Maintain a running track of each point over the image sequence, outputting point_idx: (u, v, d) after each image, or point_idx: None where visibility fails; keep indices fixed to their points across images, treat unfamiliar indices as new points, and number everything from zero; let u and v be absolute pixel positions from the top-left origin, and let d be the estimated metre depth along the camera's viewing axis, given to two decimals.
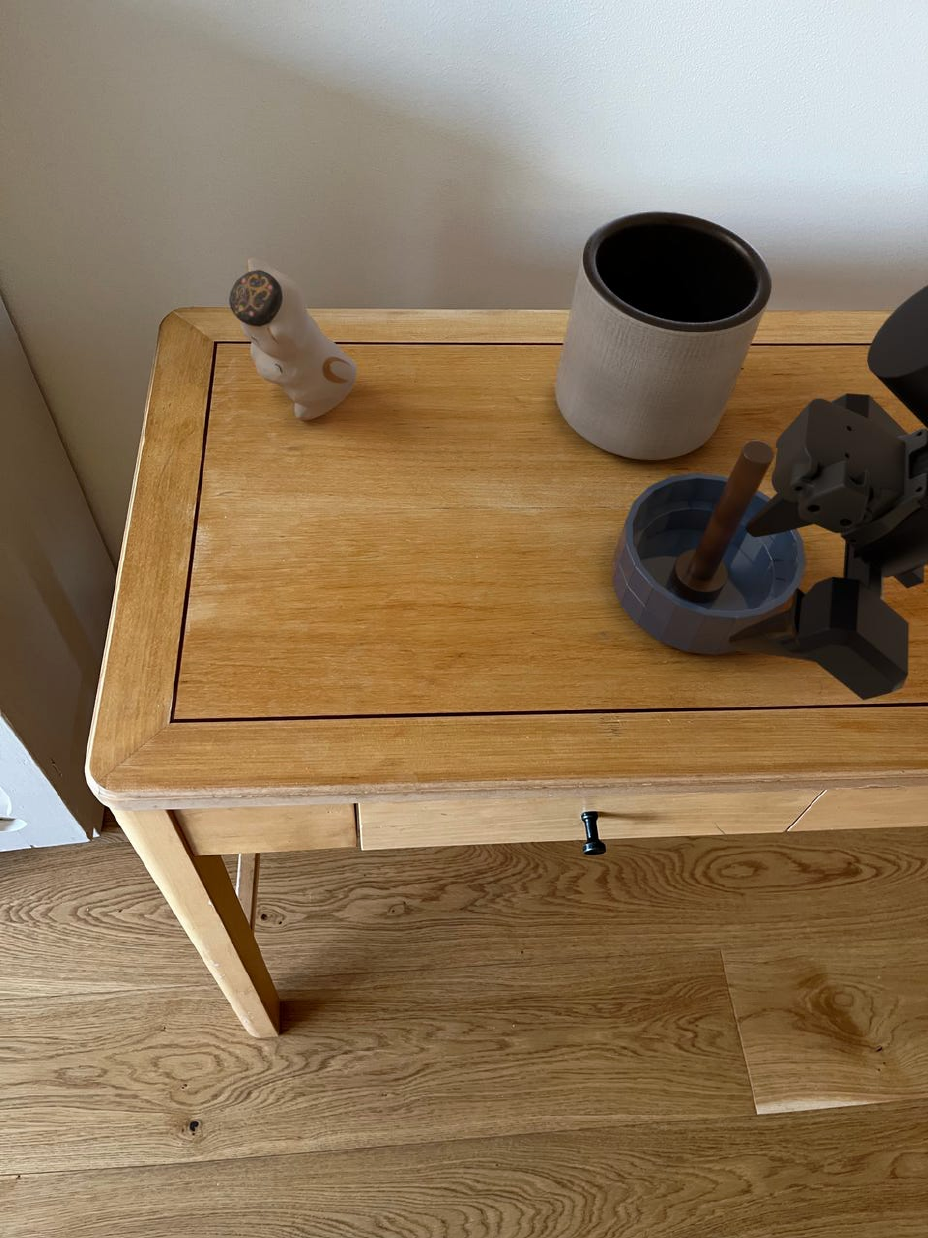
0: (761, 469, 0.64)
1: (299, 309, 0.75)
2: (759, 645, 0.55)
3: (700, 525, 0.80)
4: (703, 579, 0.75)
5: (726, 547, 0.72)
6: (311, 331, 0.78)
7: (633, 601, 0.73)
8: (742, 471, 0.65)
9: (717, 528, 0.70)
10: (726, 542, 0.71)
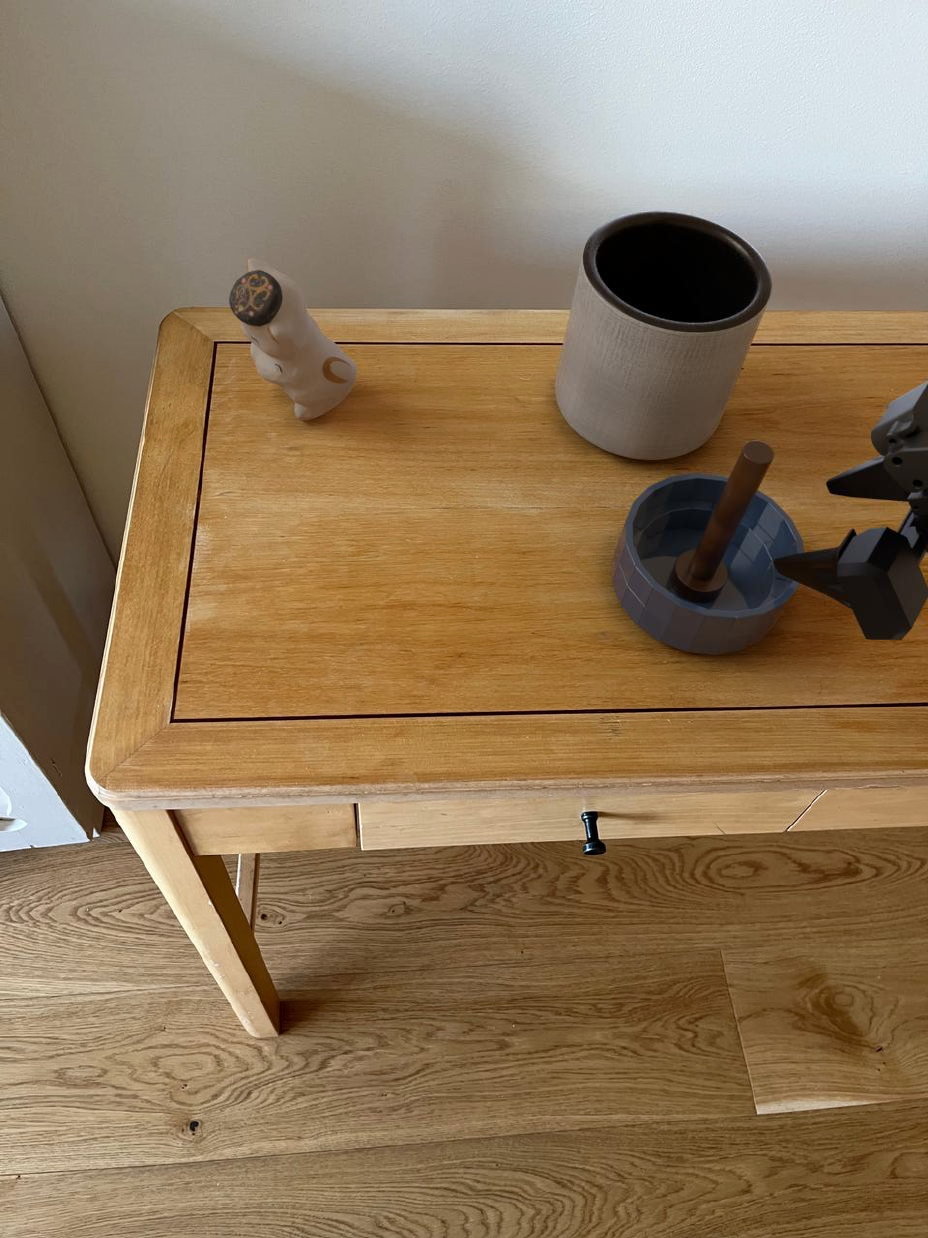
0: (761, 469, 0.64)
1: (299, 309, 0.75)
2: (798, 572, 0.62)
3: (700, 525, 0.80)
4: (703, 579, 0.75)
5: (726, 547, 0.72)
6: (311, 331, 0.78)
7: (633, 601, 0.73)
8: (742, 471, 0.65)
9: (717, 528, 0.70)
10: (726, 542, 0.71)
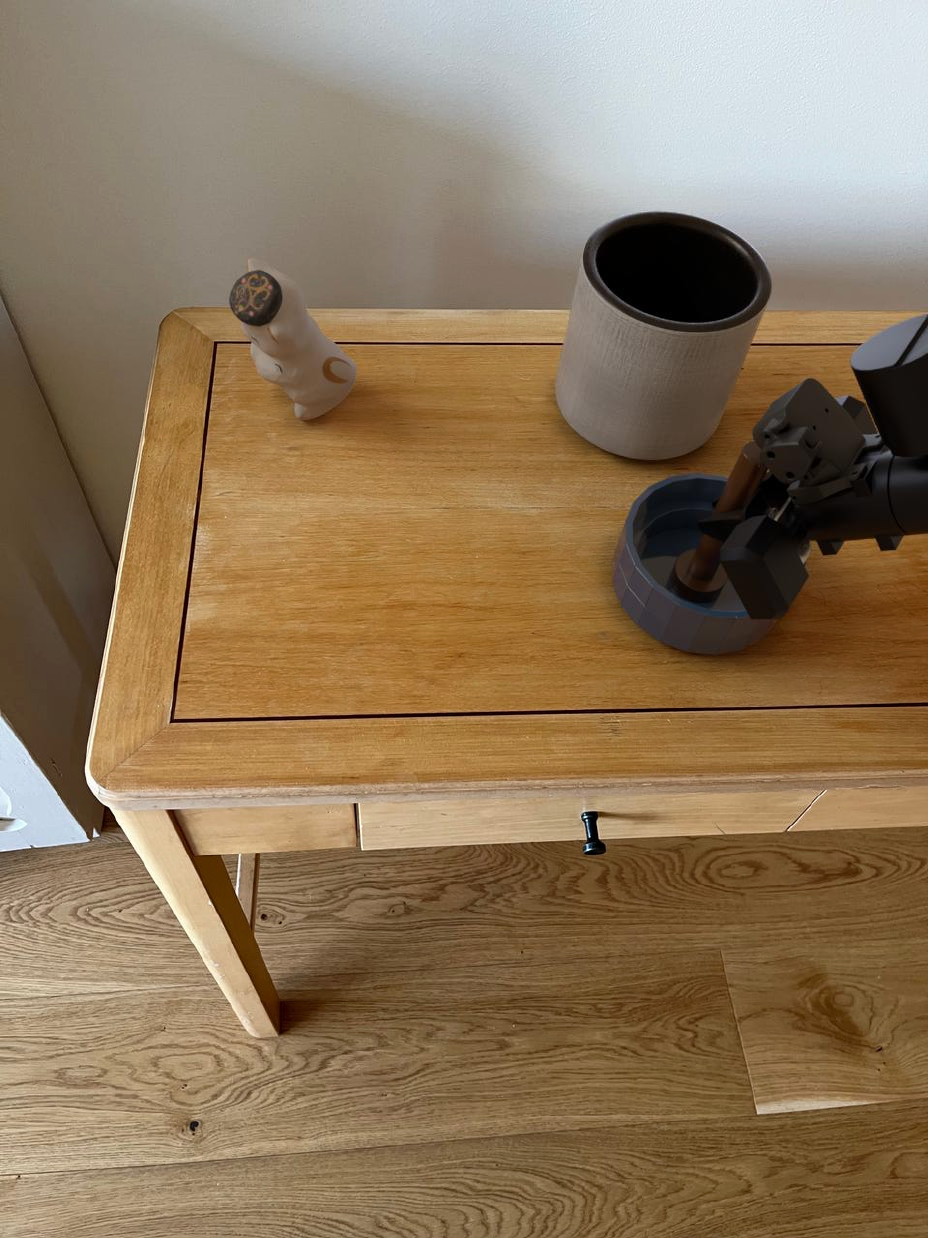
0: (761, 469, 0.64)
1: (299, 309, 0.75)
2: (717, 530, 0.69)
3: None
4: (703, 579, 0.75)
5: None
6: (311, 331, 0.78)
7: (633, 601, 0.73)
8: (742, 471, 0.65)
9: None
10: None
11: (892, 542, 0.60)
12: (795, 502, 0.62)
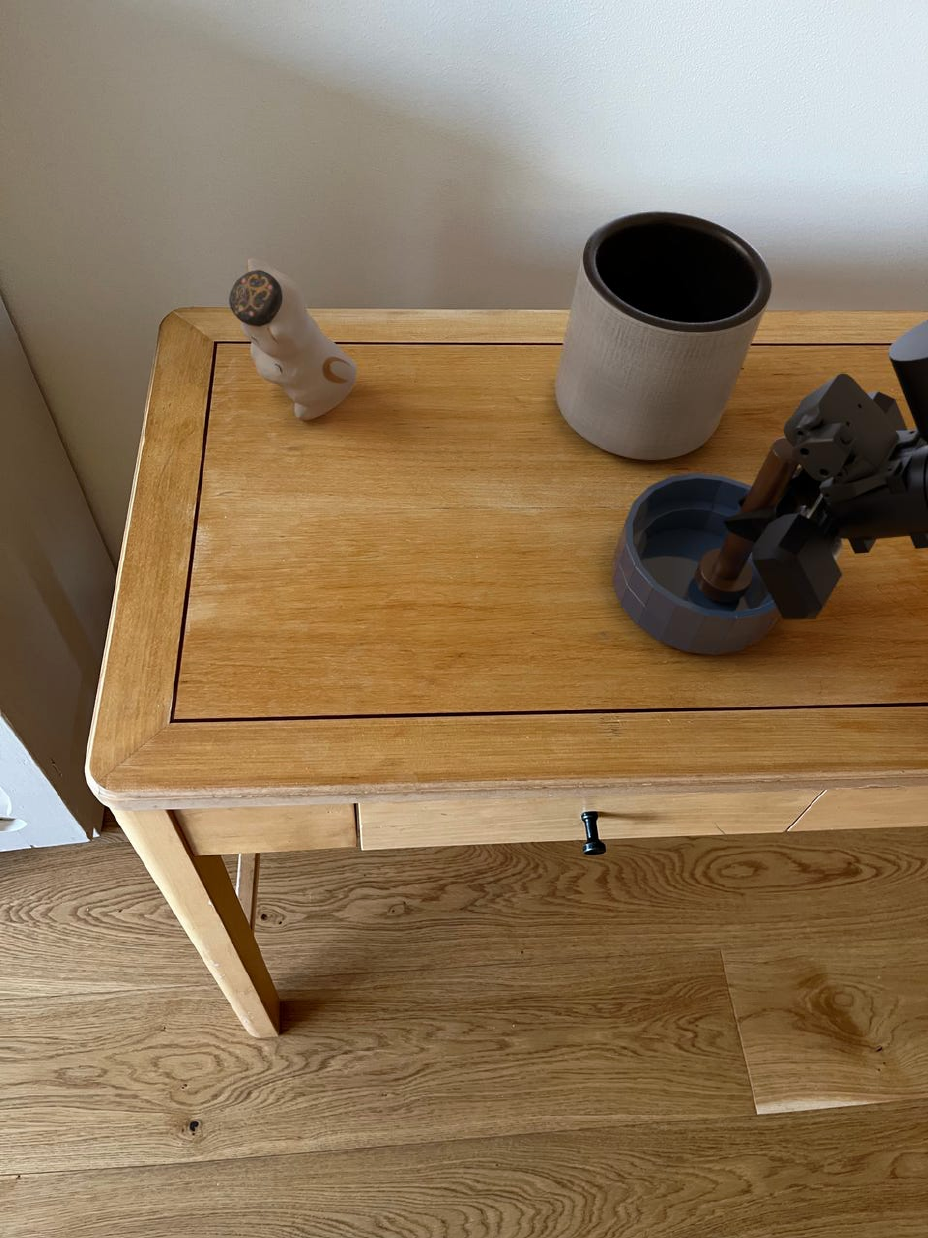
0: (791, 466, 0.63)
1: (299, 309, 0.75)
2: (745, 529, 0.68)
3: (700, 525, 0.80)
4: (728, 578, 0.74)
5: None
6: (311, 331, 0.78)
7: (633, 601, 0.73)
8: (771, 469, 0.64)
9: None
10: None
11: None
12: (827, 500, 0.61)
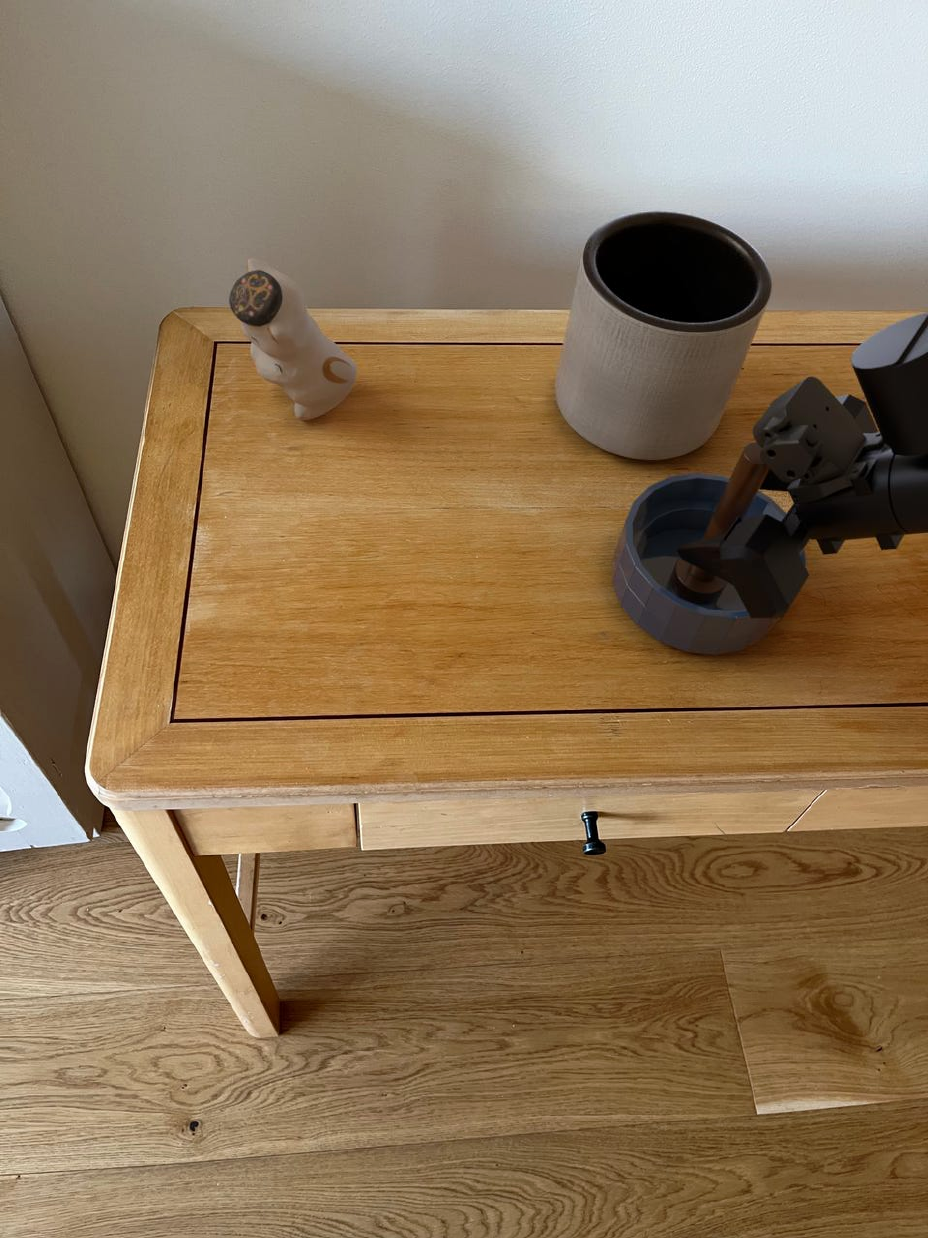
0: (762, 470, 0.64)
1: (299, 309, 0.75)
2: (697, 557, 0.67)
3: (700, 525, 0.80)
4: (703, 580, 0.75)
5: None
6: (311, 331, 0.78)
7: (633, 601, 0.73)
8: (743, 473, 0.65)
9: (717, 529, 0.70)
10: None
11: (893, 541, 0.60)
12: (795, 501, 0.62)
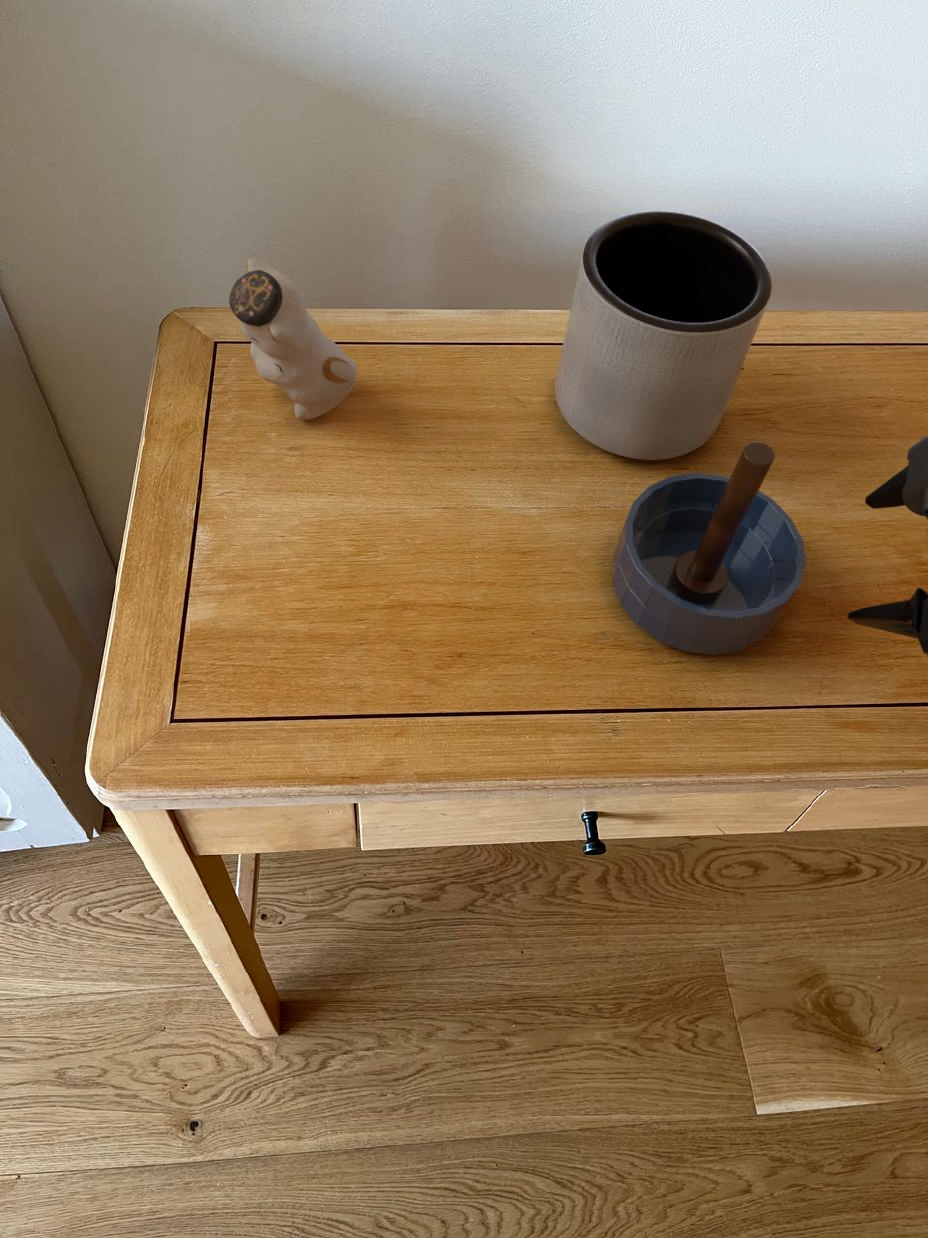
0: (762, 470, 0.64)
1: (299, 309, 0.75)
2: (877, 624, 0.61)
3: (700, 525, 0.80)
4: (703, 580, 0.75)
5: (726, 548, 0.72)
6: (311, 331, 0.78)
7: (633, 601, 0.73)
8: (743, 473, 0.65)
9: (717, 529, 0.70)
10: (726, 543, 0.71)
11: None
12: None
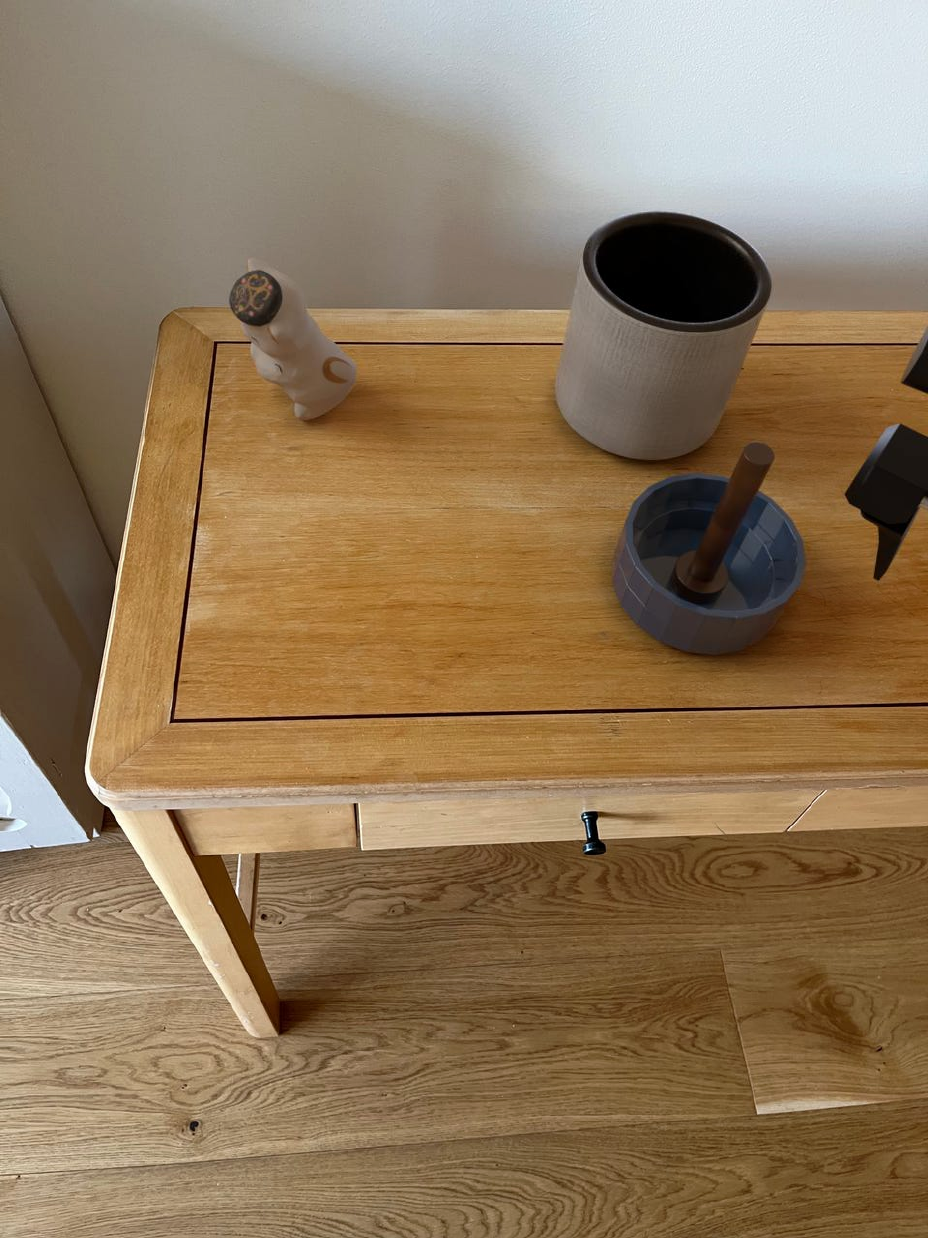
0: (762, 470, 0.64)
1: (299, 309, 0.75)
2: None
3: (700, 525, 0.80)
4: (703, 580, 0.75)
5: (726, 548, 0.72)
6: (311, 331, 0.78)
7: (633, 601, 0.73)
8: (743, 473, 0.65)
9: (717, 529, 0.70)
10: (726, 543, 0.71)
11: None
12: None
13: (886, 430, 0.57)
